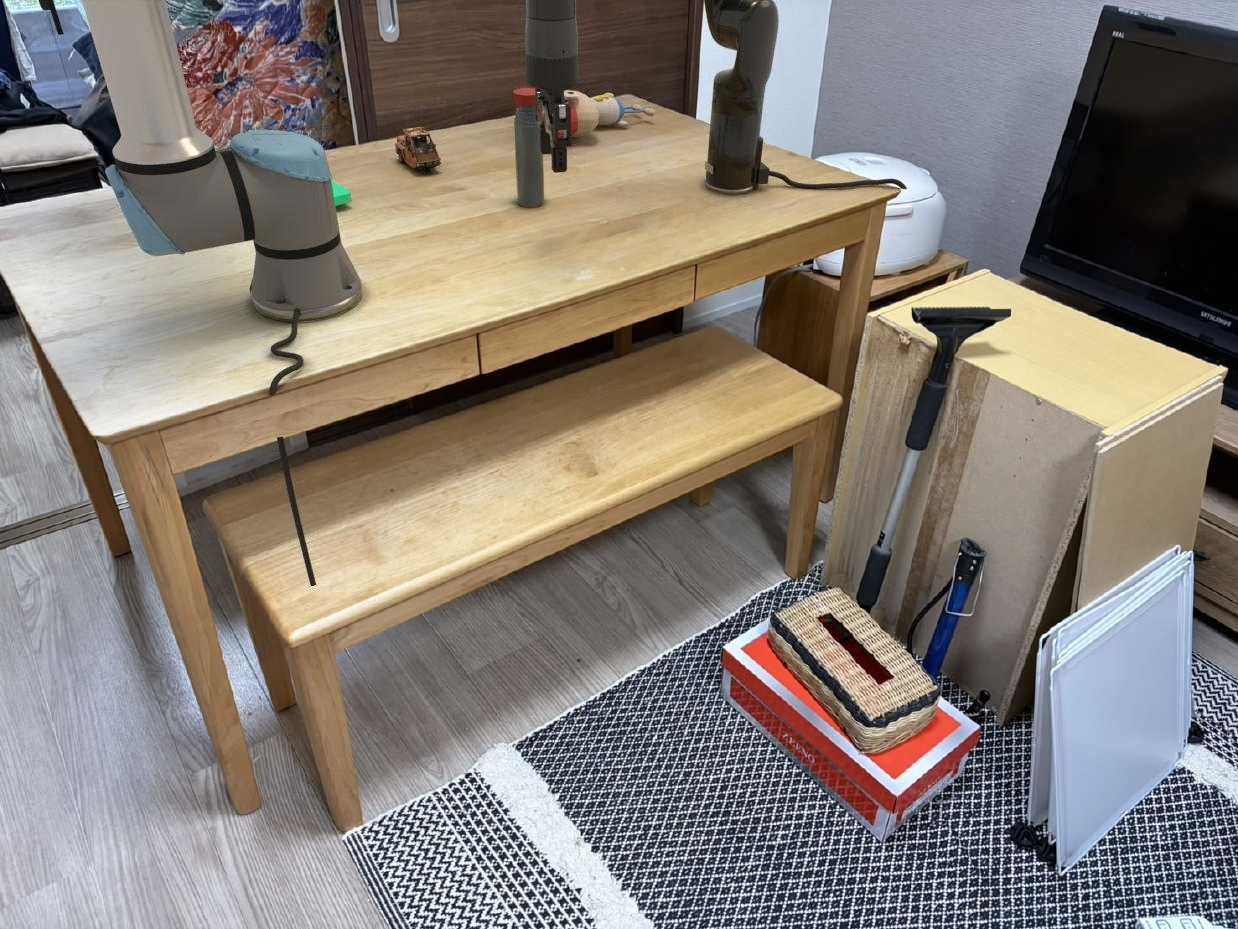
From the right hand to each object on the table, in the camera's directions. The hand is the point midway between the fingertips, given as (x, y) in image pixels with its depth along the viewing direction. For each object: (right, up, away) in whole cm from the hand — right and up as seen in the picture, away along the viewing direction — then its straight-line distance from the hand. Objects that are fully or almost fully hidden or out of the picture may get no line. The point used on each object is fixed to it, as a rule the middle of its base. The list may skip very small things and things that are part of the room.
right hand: (553, 162), depth 142 cm
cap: (-5, +16, +13) cm, 21 cm away
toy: (+4, +26, +59) cm, 64 cm away
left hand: (-71, +22, +4) cm, 74 cm away
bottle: (-6, +1, +25) cm, 25 cm away
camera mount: (-43, 0, +22) cm, 48 cm away
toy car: (-29, +12, +38) cm, 49 cm away
